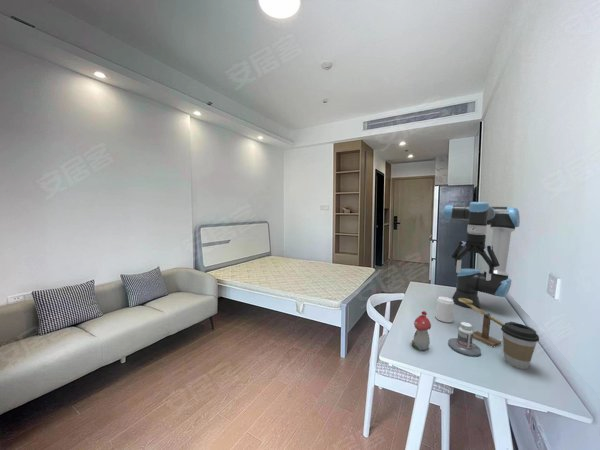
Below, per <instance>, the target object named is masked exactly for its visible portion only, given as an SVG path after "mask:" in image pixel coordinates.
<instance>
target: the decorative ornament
mask: <svg viewBox="0 0 600 450" xmlns="http://www.w3.org/2000/svg"><path fill="white" fill-rule="evenodd" d="M427 315H428V312H427V311H424V310H423V311H421V314H420V315H418V316H417V317H416V318H415V320H414V321H413V325H414V328H415V329H416V330H415V332H414V335H413V340H411V346H412V347H413V348H415V350H419V351H427V349H429V347H430V344H431V341H430V334H429V332H428V330H431V328H432V323H431V321H430V319H429V318H428V316H427Z"/></svg>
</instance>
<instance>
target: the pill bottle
mask: <svg viewBox="0 0 600 450" xmlns="http://www.w3.org/2000/svg"><path fill="white" fill-rule="evenodd" d="M473 332H474V331H473V328H472V324H471V323H468V322H464V321H462V322H460V326H459V327H458V331H457V338H458V339H457V344H458V345H459V346H461V347H463V348H467V349H470V348H472V343H473V339H474V338H473Z"/></svg>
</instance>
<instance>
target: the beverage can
mask: <svg viewBox="0 0 600 450" xmlns="http://www.w3.org/2000/svg"><path fill="white" fill-rule="evenodd" d="M454 311H455V303H454V301H453V299H452V297H451V298H450V297H447V296H438V298H437V299H436V309H435V318H436V319H437V320H439V321H440V322H442V323H446V324H447V323H452V322H453V319H454Z"/></svg>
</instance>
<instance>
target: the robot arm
mask: <svg viewBox="0 0 600 450" xmlns="http://www.w3.org/2000/svg"><path fill="white" fill-rule="evenodd" d="M442 215H443V217H444V218H445V219H450V220H464V221H467V230H466V241H459V243H458V245H457V248H456V249H455V251H454V252H453V253H452V255H451V258H452V259H454V260H455V261H454V262H455V264H454V265H455V266H456V267H455V268H456V271H455V272H456V273H457V275H456V285H455V286H456V289H455V291H454V293H453V296H452V297H451V299H453V301H454V305H457V306H460V307H463V308H468V309H472V308H471V307H470V306H468V305H467V304H465V303H463V302H460V301H459V300H458V299H459V298H466V299H469V300H472V301H473V303H472V305H474V306H475V307H477V308H479V309H480V307H481V302H480V299H479V294H478V293H479V292H480V293H484V294H488V295H492V296H494V297H501V298H505V297H506V296H507V295H508V293H509V291H510V288H511V285H512V279H511V278H510V277H509V274H508V273H507V272H506V270H507V265H508V264H507V263H508V257H509V251H510V244H511V243H510V242H511V236H512V235H511V234H512V232H514V231H515V230H516V228H519V227H520V222H521V219H520V212H519V210H518V208H517V207H513V206H489V202H487V201H471V202H470V203H469V205H453V204H452V205H446V206H444V208H443V211H442ZM487 225H488V226H490V227H489V228H490V229H491V230H492V234H491V242H490V245H486V238H487V236H486V234H487ZM465 246H466V247H465ZM464 247H465V249H464V250H463V248H464ZM462 250H463V251H462ZM485 250H486V251H487V252H486V251H485ZM469 252H470V253H475V254H479V255H480V256H481V257H482V258H483V260H484V262H486V264H487V267H486V269H484V270H483V272H481V271H480V270H479V269H477V268H476V269H475V268H462V261H463V260H462V258H464V257H465V256H466V255H467V254H469Z"/></svg>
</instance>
